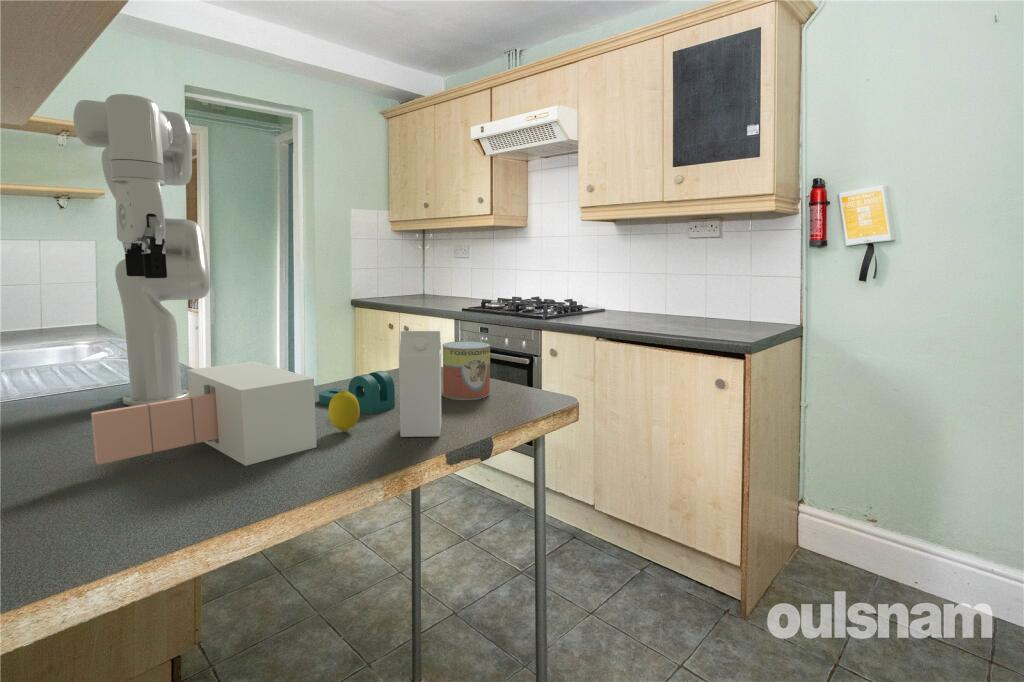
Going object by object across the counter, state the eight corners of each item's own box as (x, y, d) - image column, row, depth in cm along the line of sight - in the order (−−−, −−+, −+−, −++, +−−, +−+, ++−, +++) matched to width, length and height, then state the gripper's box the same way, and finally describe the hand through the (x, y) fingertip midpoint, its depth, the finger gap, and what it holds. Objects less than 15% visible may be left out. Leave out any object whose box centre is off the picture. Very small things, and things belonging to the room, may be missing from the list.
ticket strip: (98, 464, 82) (93, 414, 81) (96, 462, 83) (91, 412, 82) (227, 436, 95) (224, 393, 94) (223, 434, 96) (221, 391, 95)
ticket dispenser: (240, 467, 87) (235, 391, 85) (187, 436, 102) (182, 370, 100) (316, 447, 97) (313, 378, 95) (258, 421, 111) (254, 361, 109)
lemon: (332, 438, 101) (330, 394, 100) (326, 429, 106) (325, 388, 105) (363, 434, 104) (362, 391, 103) (356, 426, 109) (355, 385, 108)
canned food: (454, 402, 127) (454, 349, 126) (435, 391, 137) (435, 342, 135) (498, 396, 133) (499, 346, 131) (477, 387, 143) (477, 340, 141)
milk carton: (404, 426, 109) (402, 328, 106) (441, 425, 110) (440, 328, 107) (400, 437, 102) (398, 333, 99) (439, 437, 103) (439, 333, 100)
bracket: (394, 408, 123) (394, 372, 122) (372, 415, 117) (371, 378, 116) (335, 396, 132) (334, 363, 131) (312, 403, 126) (311, 368, 125)
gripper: (97, 176, 98) (106, 275, 101) (127, 167, 87) (137, 279, 89) (147, 181, 104) (154, 275, 106) (181, 172, 92) (188, 278, 95)
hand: (146, 277), depth 98 cm, fingers open, 9 cm apart
